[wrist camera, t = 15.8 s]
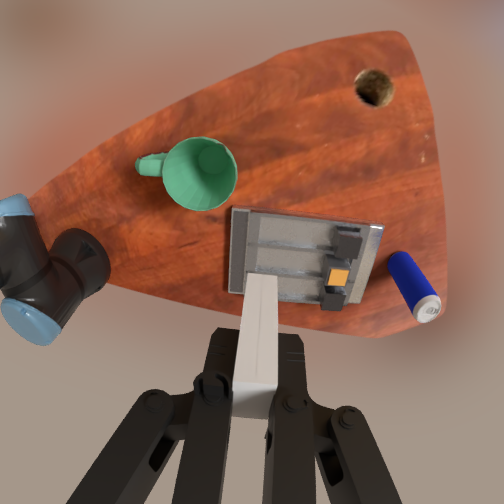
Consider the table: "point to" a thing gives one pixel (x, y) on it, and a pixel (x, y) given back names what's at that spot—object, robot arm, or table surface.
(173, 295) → the table surface
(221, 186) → the mug
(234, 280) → the panel
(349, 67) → the table surface
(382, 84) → the table surface
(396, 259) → the beverage can
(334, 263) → the block
